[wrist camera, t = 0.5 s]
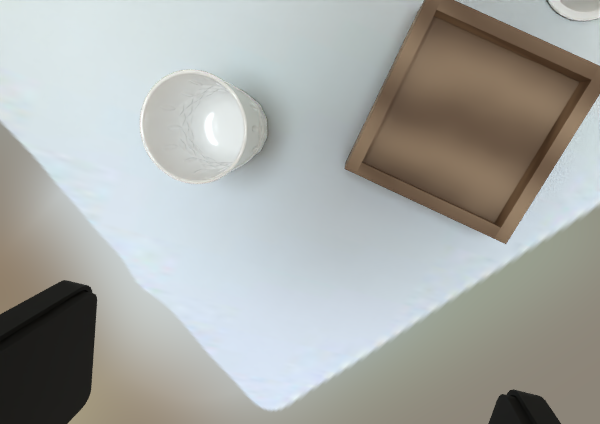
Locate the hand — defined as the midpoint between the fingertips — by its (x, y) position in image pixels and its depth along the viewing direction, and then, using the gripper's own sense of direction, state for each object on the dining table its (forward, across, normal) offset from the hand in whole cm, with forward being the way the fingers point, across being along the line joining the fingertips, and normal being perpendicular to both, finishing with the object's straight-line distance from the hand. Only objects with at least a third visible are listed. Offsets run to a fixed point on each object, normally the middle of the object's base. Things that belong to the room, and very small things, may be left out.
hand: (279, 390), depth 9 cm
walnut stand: (+29, -9, -8) cm, 32 cm away
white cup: (+30, +11, -4) cm, 32 cm away
